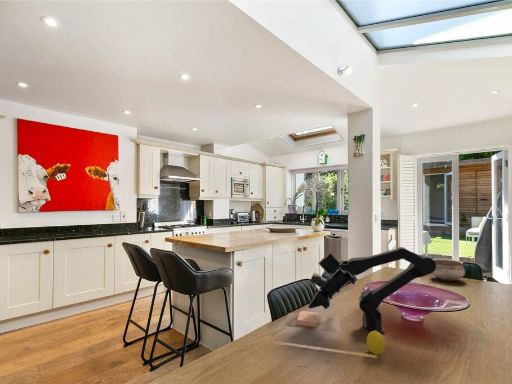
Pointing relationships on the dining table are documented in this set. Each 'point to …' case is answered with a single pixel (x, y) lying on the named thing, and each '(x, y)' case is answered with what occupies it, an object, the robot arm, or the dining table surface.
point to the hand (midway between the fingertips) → (309, 307)
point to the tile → (307, 319)
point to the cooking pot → (448, 269)
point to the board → (322, 323)
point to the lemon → (375, 343)
